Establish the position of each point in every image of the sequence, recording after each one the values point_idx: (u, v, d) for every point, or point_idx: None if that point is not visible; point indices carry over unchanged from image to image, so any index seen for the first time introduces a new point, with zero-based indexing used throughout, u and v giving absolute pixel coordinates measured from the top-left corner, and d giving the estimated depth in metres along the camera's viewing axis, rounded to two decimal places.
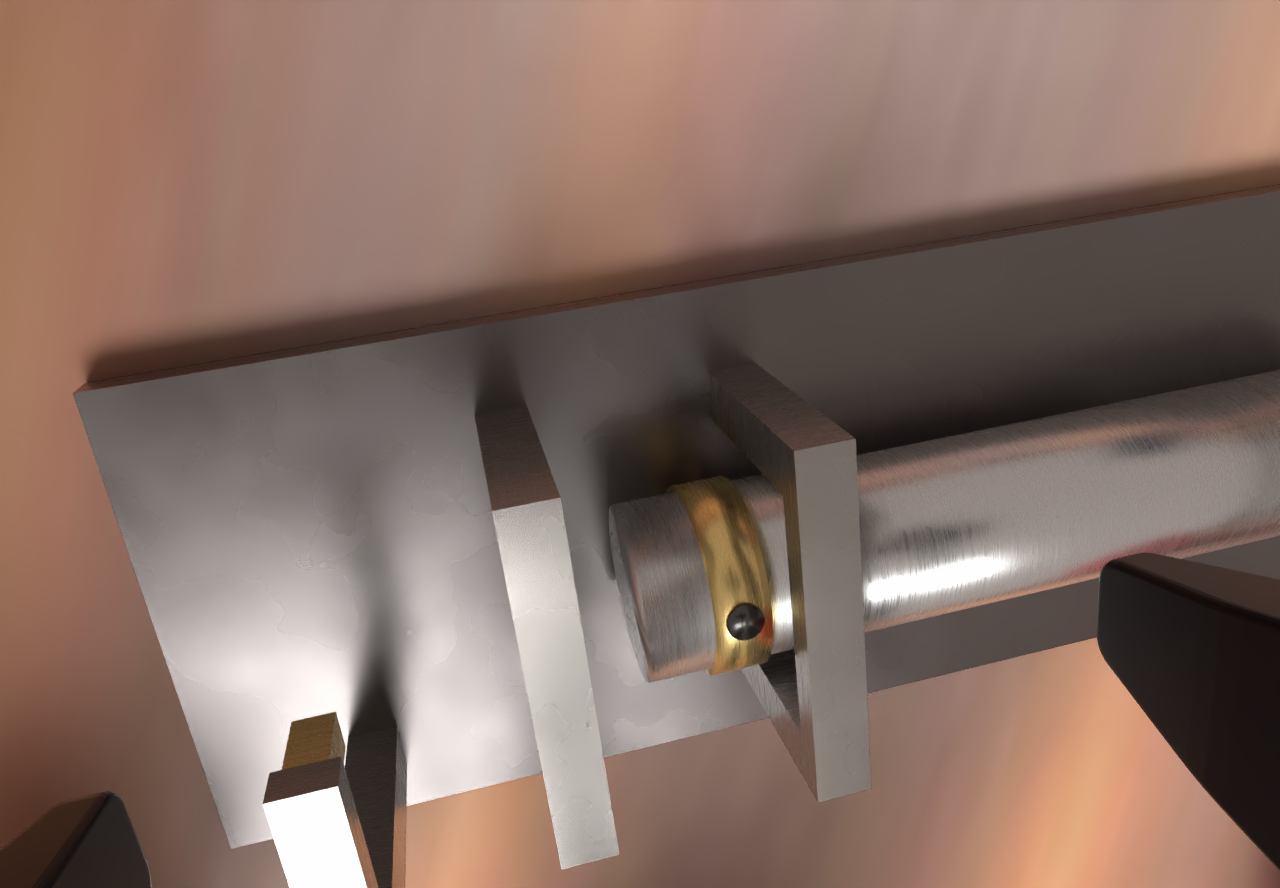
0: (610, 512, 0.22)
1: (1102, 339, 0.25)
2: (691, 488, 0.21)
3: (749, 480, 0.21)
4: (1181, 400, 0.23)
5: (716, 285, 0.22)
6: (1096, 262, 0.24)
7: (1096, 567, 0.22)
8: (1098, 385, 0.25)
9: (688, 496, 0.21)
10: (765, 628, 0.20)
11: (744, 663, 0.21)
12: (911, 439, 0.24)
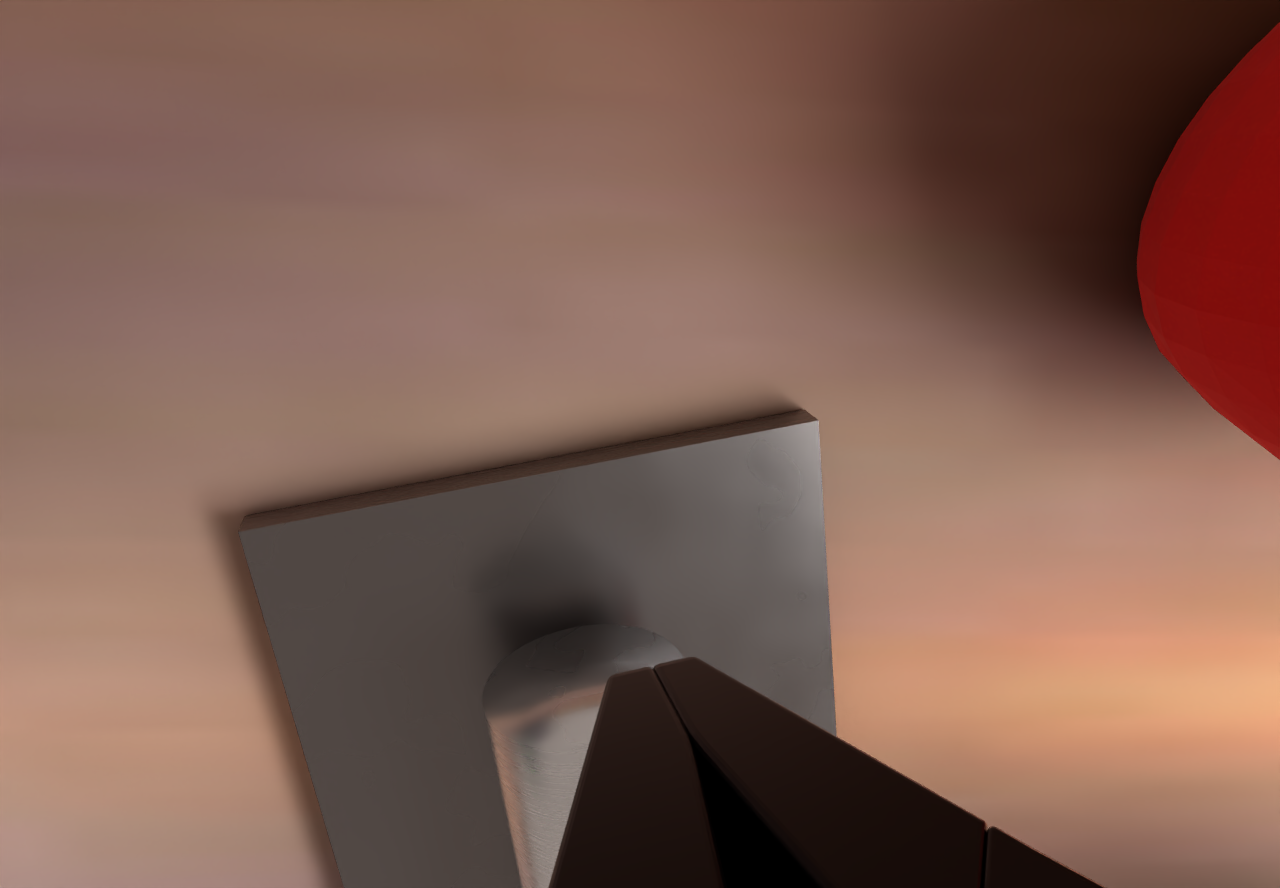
0: None
1: None
2: None
3: None
4: None
5: None
6: None
7: None
8: None
9: None
10: None
11: None
12: None
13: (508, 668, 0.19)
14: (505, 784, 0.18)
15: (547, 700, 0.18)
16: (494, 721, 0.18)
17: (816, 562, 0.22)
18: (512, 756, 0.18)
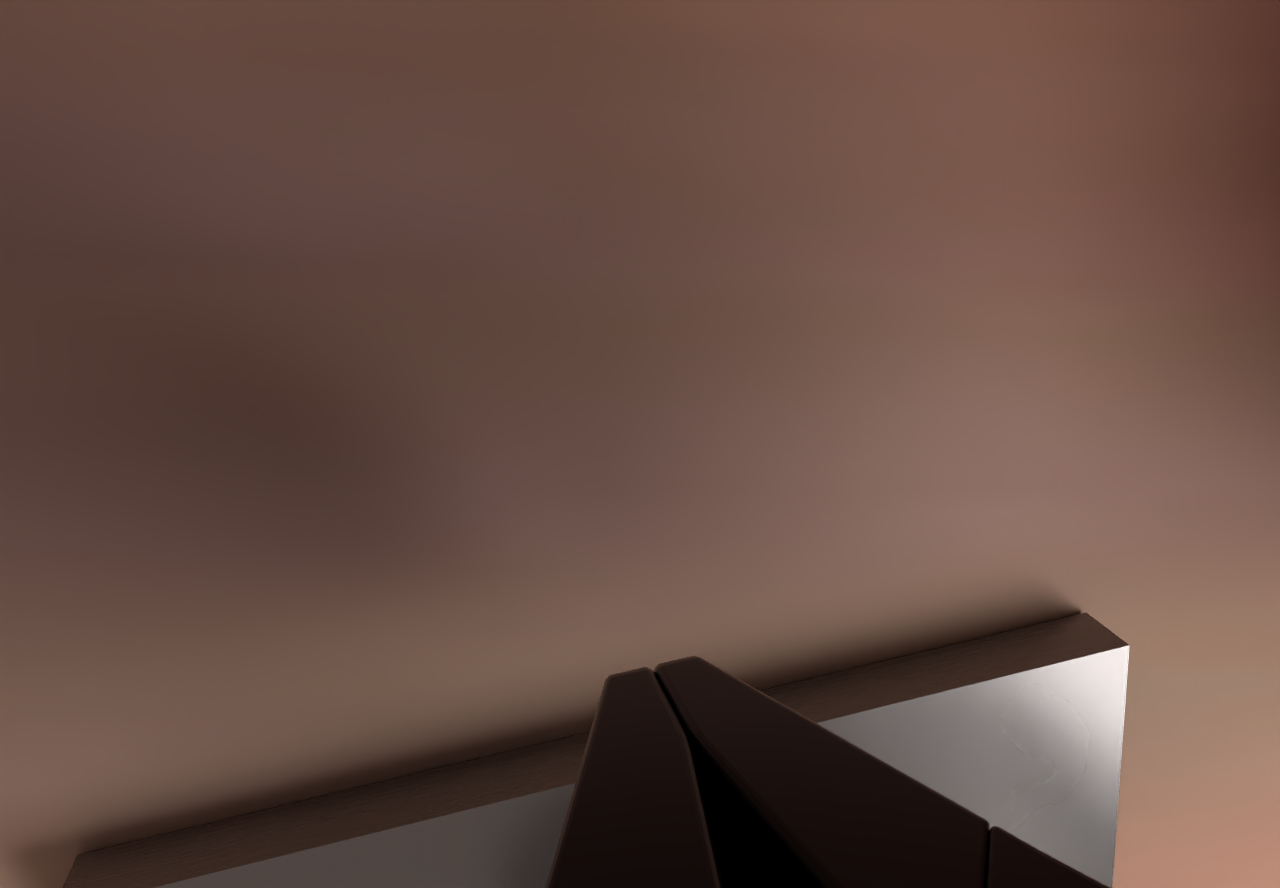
0: None
1: None
2: None
3: None
4: None
5: None
6: None
7: None
8: None
9: None
10: None
11: None
12: None
13: None
14: None
15: None
16: None
17: (1097, 869, 0.13)
18: None
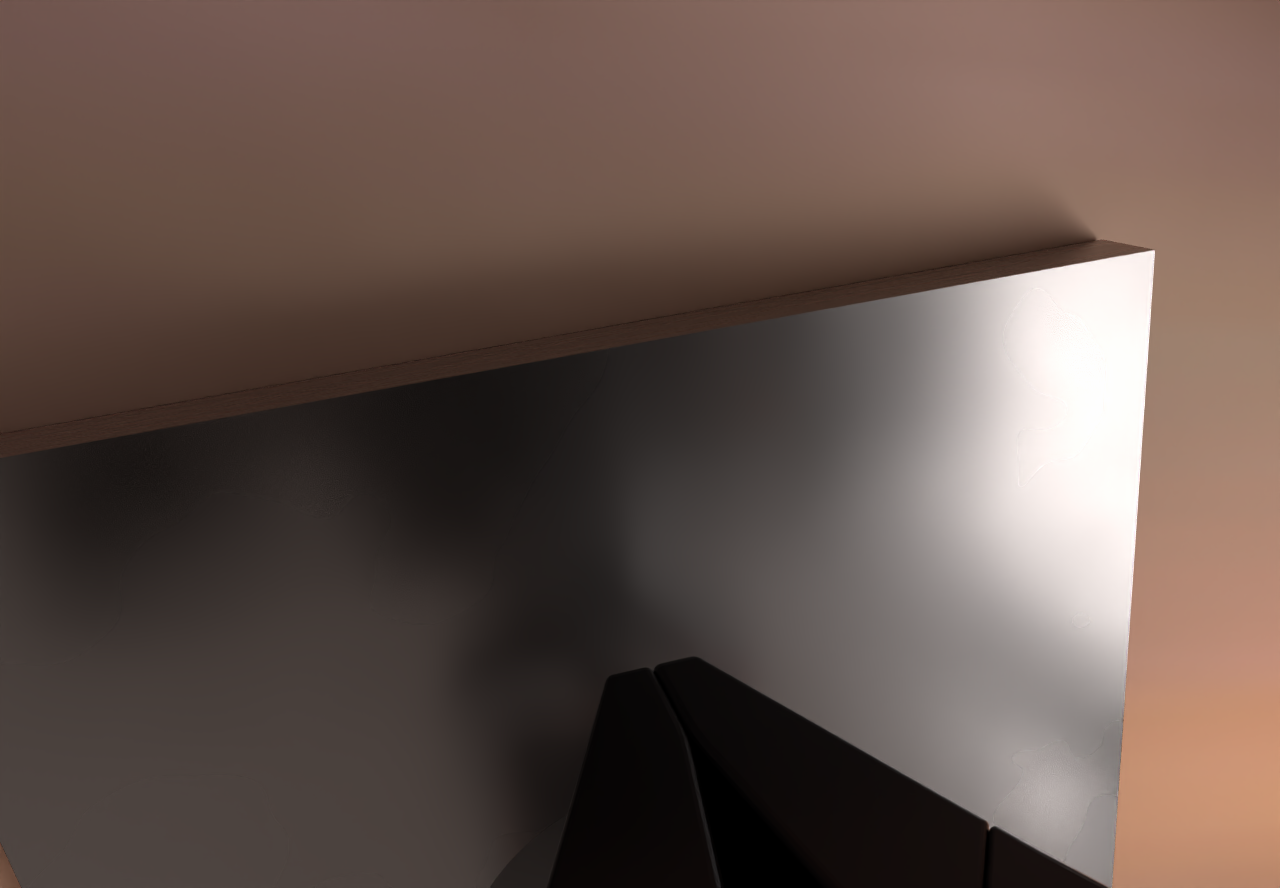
0: None
1: None
2: None
3: None
4: None
5: None
6: None
7: None
8: None
9: None
10: None
11: None
12: None
13: None
14: None
15: None
16: None
17: (1115, 553, 0.11)
18: None
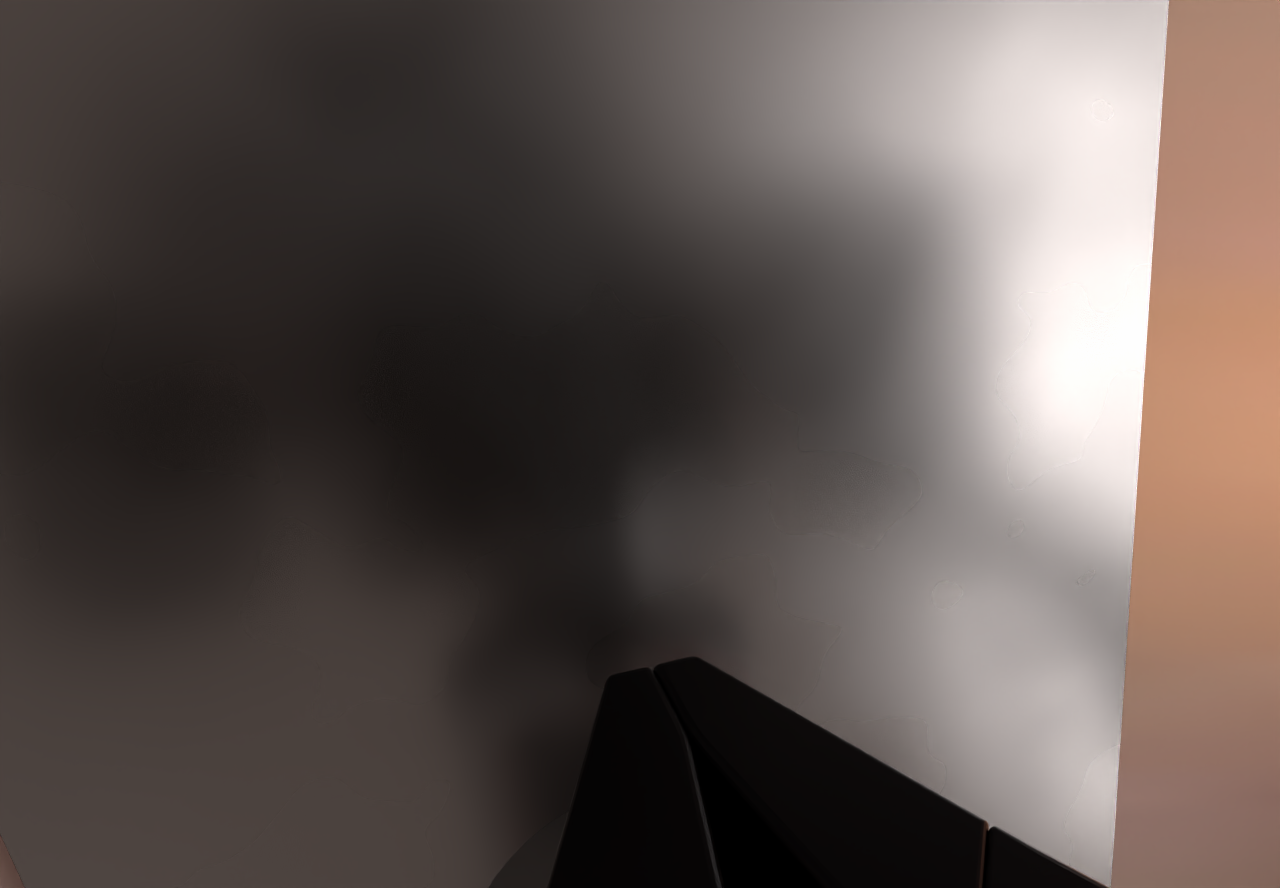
0: None
1: (352, 834, 0.10)
2: None
3: None
4: None
5: None
6: None
7: None
8: (473, 808, 0.10)
9: None
10: None
11: None
12: None
13: None
14: None
15: None
16: None
17: (1144, 17, 0.09)
18: None
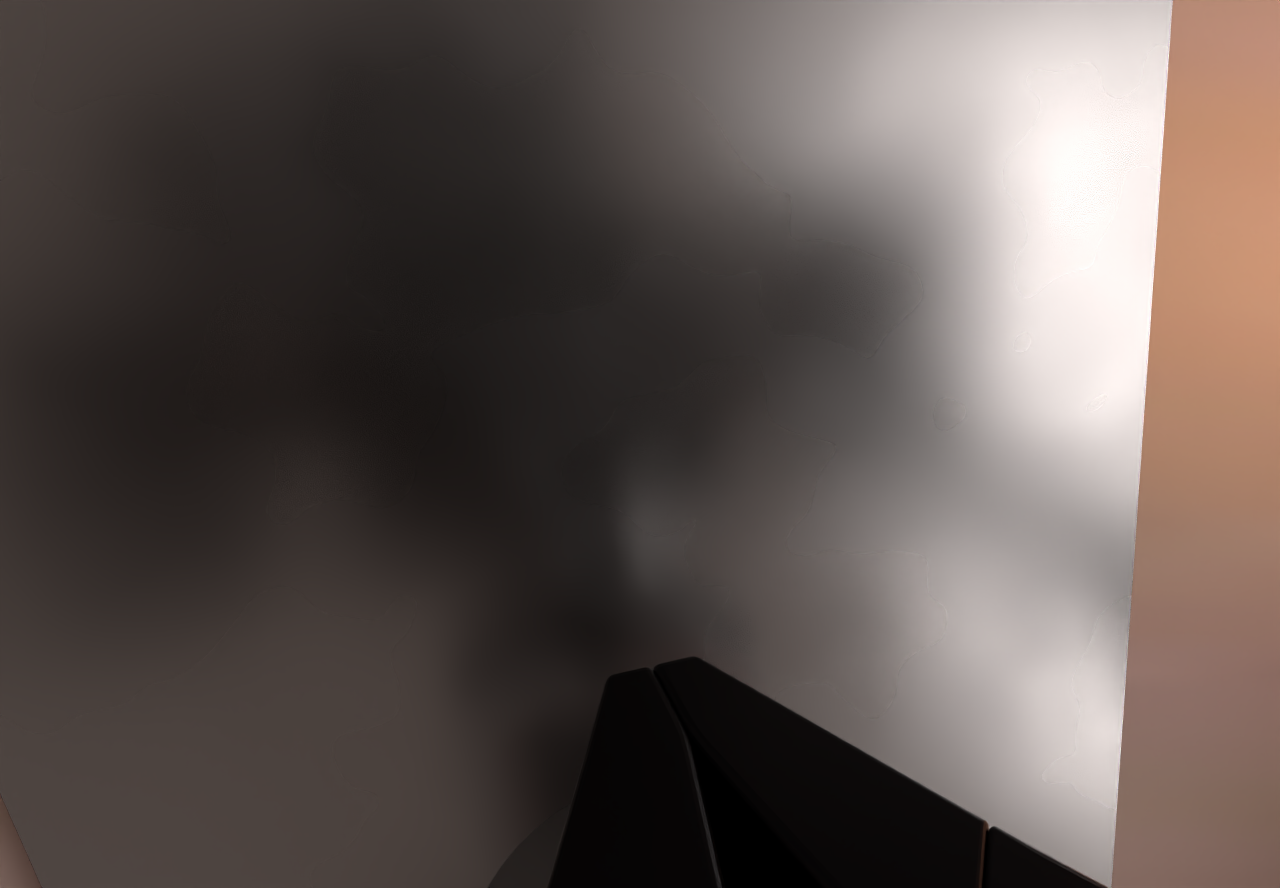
0: None
1: (312, 654, 0.09)
2: None
3: None
4: None
5: None
6: (98, 727, 0.09)
7: None
8: (441, 631, 0.09)
9: None
10: None
11: None
12: None
13: (524, 878, 0.09)
14: None
15: None
16: None
17: None
18: None
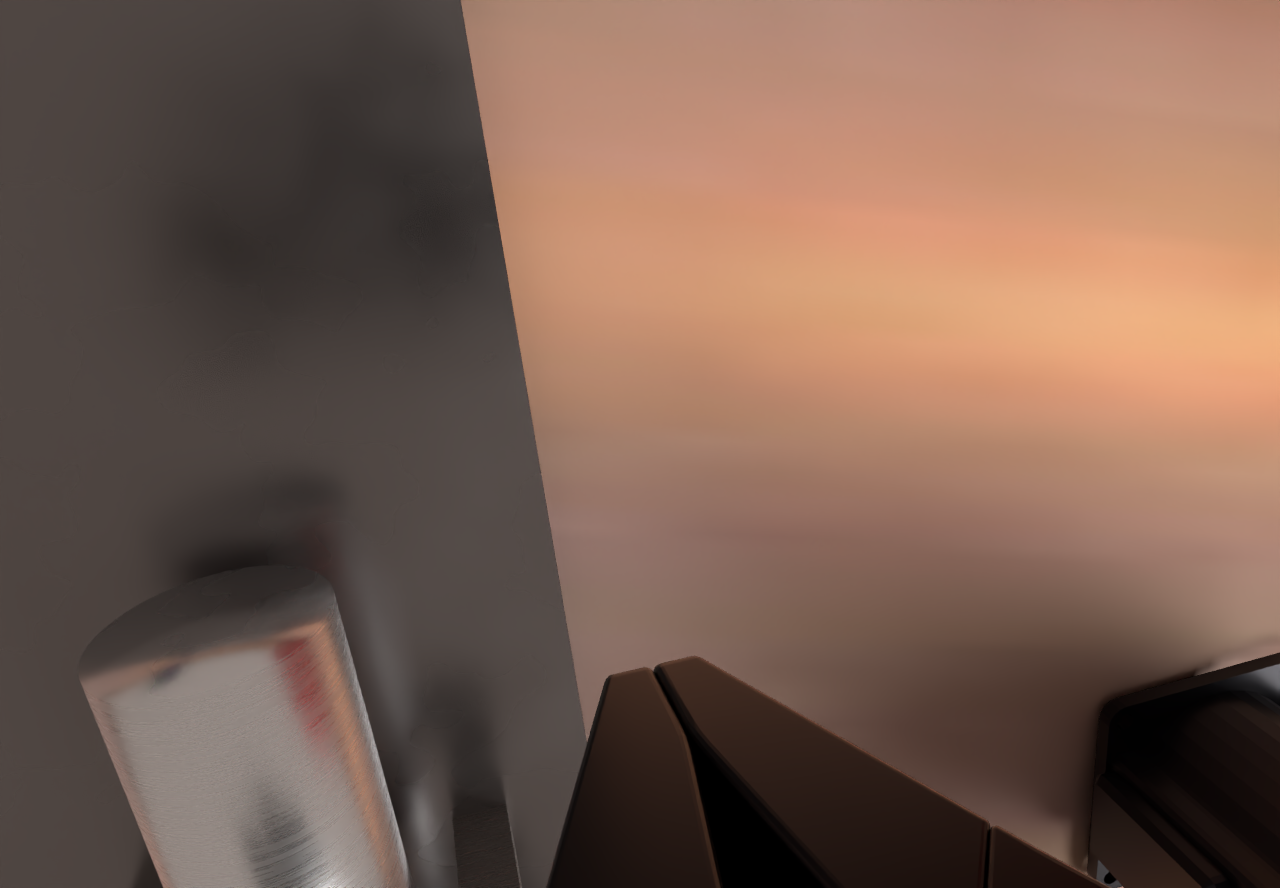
0: None
1: (21, 496, 0.17)
2: None
3: None
4: None
5: None
6: None
7: None
8: (97, 484, 0.17)
9: None
10: None
11: None
12: None
13: (136, 615, 0.17)
14: None
15: (156, 649, 0.15)
16: (82, 674, 0.15)
17: (448, 16, 0.16)
18: (98, 715, 0.15)
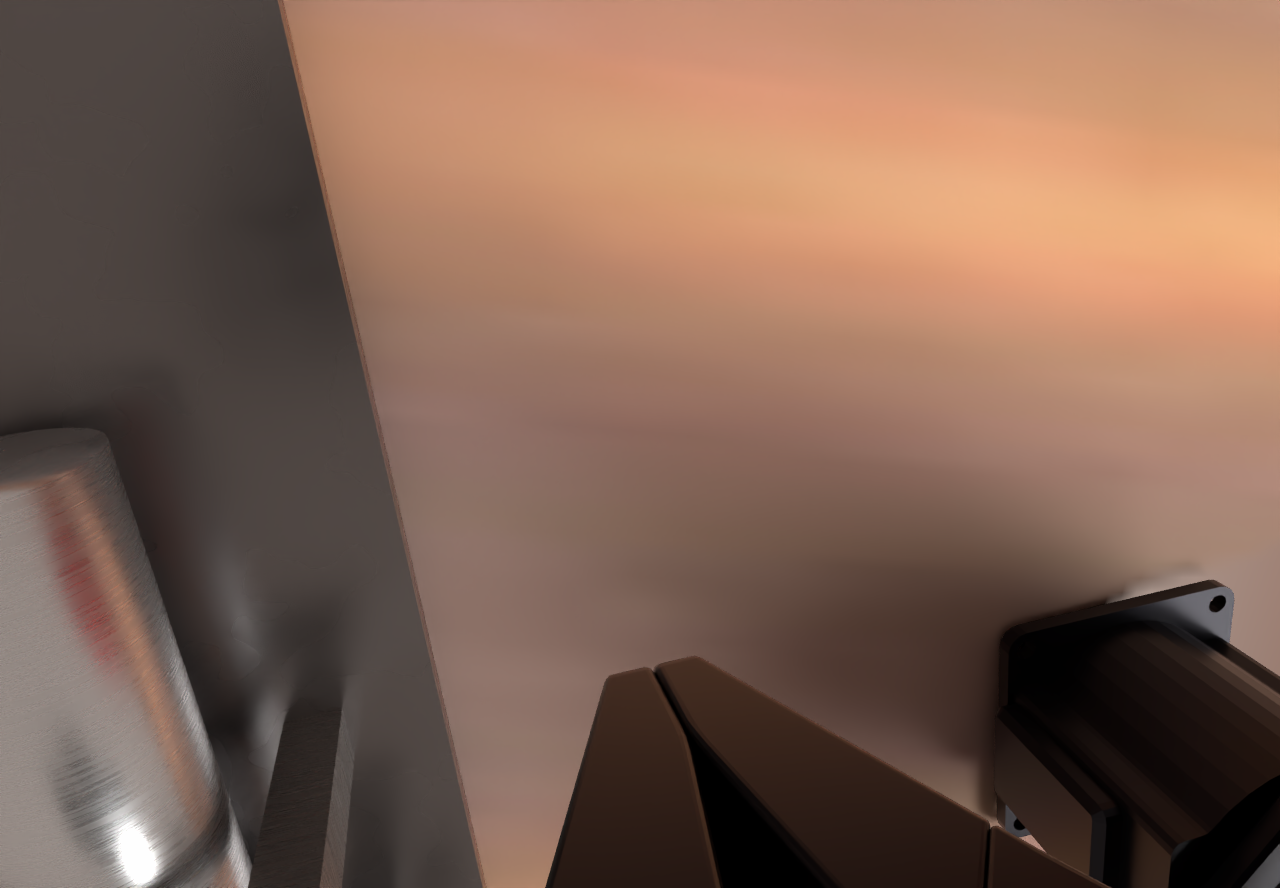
0: None
1: None
2: None
3: None
4: None
5: None
6: None
7: None
8: None
9: None
10: None
11: None
12: None
13: None
14: None
15: None
16: None
17: None
18: None
